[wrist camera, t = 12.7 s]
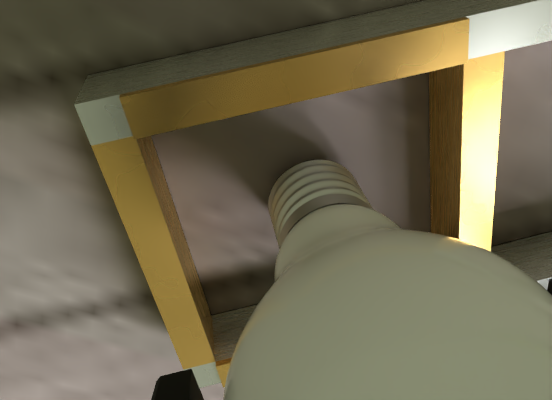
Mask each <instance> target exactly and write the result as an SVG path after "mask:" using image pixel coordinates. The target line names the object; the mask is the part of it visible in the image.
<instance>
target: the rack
mask: <svg viewBox="0 0 552 400" xmlns="http://www.w3.org/2000/svg"><path fill="white" fill-rule="evenodd" d="M551 40H552V0H425V1H420V2H416V3H411V4H407V5H402V6H398V7H393V8H389V9H384V10H380V11H375V12H371V13H366V14H362V15H357V16H353V17H348V18H344V19H339V20H335V21H330V22H326V23H321V24H317V25H312V26H308V27H303V28H299V29H294V30H290V31H285V32H281V33H276V34H272V35H267V36H263V37H258V38H254V39H249V40H245V41H240V42H236V43H231V44H227V45H222V46H218V47H213V48H209V49H204V50H200V51H195V52H191V53H186V54H182V55H177V56H173V57H168V58H164V59H159V60H155V61H150V62H146V63H141V64H137V65H133V66H128V67H124V68H119V69H115V70H110V71H106V72H101V73H97V74H92V75H88V76H87V78H86V80H85V82H84V84H83V86H82V89H81V91H80V93H79V95H78V97H77V100H76V102H75V104H74V106H75V108H76V111H77V113H78V115H79V118H80V120H81V123H82V125H83V127H84V130H85V132H86V135H87V137H88V140H89V142H90V144H91V147H92V149H93V152H94V154H95V157H96V159H97V161H98V164H99V166H100V169H101V171H102V173H103V176H104V178H105V181H106V183H107V186H108V188H109V190H110V193H111V195H112V198H113V200H114V203H115V205H116V207H117V210H118V212H119V215H120V217H121V219H122V222H123V224H124V227H125V229H126V232H127V234H128V236H129V239H130V241H131V244H132V246H133V249H134V251H135V253H136V256H137V258H138V261H139V263H140V265H141V268H142V270H143V273H144V275H145V278H146V280H147V282H148V285H149V287H150V290H151V292H152V295H153V297H154V299H155V302H156V304H157V307H158V309H159V311H160V314H161V316H162V319H163V321H164V324H165V326H166V328H167V331H168V333H169V336H170V338H171V341H172V343H173V345H174V348H175V350H176V353H177V355H178V357H179V360H180V362H181V365H182V367H183V370H188V369H192V371H193V373H194V376H195V378H196V381H197V383H198V386H199V388H202V387H206V386H210V385H214V384H218V383H222V385H223V387H225V384H226V378H227V374H228V370H229V366H230V362H231V359H232V356H233V353H234V350H235V347H236V345H237V342H238V340H239V337H240V335H241V333H242V331H243V329H244V327H245V325H246V323H247V321H248V319H249V318H250V316H251V314H252V313H253V311H254V309H255V308H256V306H257V305H258V304H257V305H253V306H249V307H245V308H241V309H237V310H233V311H229V312H225V313H221V314H217V315H213V316H211V313H210V310H209V307H208V304H207V301H206V298H205V295H204V292H203V289H202V286H201V283H200V280H199V277H198V274H197V271H196V268H195V265H194V262H193V259H192V256H191V253H190V250H189V247H188V245H187V242H186V239H185V236H184V233H183V230H182V227H181V224H180V221H179V218H178V215H177V212H176V209H175V206H174V203H173V200H172V197H171V194H170V191H169V188H168V185H167V182H166V179H165V177H164V174H163V171H162V168H161V165H160V162H159V159H158V156H157V153H156V150H155V147H154V144H153V141H152V138H151V135H156V134H160V133H164V132H169V131H173V130H178V129H182V128H186V127H191V126H195V125H199V124H204V123H208V122H212V121H217V120H221V119H226V118H230V117H234V116H239V115H243V114H247V113H252V112H256V111H260V110H265V109H269V108H273V107H278V106H282V105H287V104H291V103H295V102H300V101H304V100H308V99H313V98H317V97H321V96H326V95H330V94H335V93H339V92H343V91H348V90H352V89H356V88H361V87H365V86H369V85H374V84H378V83H383V82H387V81H391V80H396V79H400V78H404V77H409V76H413V75H417V74H422V73H426V72H429V112H430V205H431V233H436V234H441V235H446V236H450V237H453V238H457V239H460V240H463V241H466V242H469V243H472V244H474V245H477V246H479V247H482V248H484V249H486V250H488V251H490V252H493V253H495V254H496V255H498V256H500V257H502V258H504V259H506V260H507V261H509V262H511V263H512V264H514V265H515V266H517V267H518V268H520V269H521V270H523V271H524V272H526V273H527V274H528V275H530V276H531V277H532V278H533V279H535V280H536V281H537V282H538V283H540V284H541V285H542V286H543V287H544V288H545V289H546V290H547V289H548V282H549V279H552V232H549V233H545V234H541V235H537V236H533V237H529V238H525V239H521V240H516V241H512V242H508V243H504V244H500V245H496V246H492V247H491V240H492V226H493V212H494V197H495V183H496V169H497V155H498V140H499V126H500V112H501V98H502V83H503V69H504V55H505V51H507V50H512V49H516V48H520V47H525V46H529V45H533V44H538V43H542V42H546V41H551Z"/></svg>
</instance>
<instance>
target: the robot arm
mask: <svg viewBox="0 0 552 400" xmlns="http://www.w3.org/2000/svg"><path fill="white" fill-rule="evenodd" d="M547 291H548V292H549V293H551V294H552V279H549V282H548V289H547ZM151 400H204V399H203V396H202V394H201V391H200V389H199V386H198V383H197V381H196V378H195V376H194V373H193V371H192V369H188V370H184V371H180V372H176V373H172V374H168V375H164V376H160V378H159V379H158V380H157V381H156V385H155V389H154V392H153V396H152V399H151Z"/></svg>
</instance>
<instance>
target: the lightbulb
mask: <svg viewBox="0 0 552 400" xmlns="http://www.w3.org/2000/svg"><path fill="white" fill-rule="evenodd" d="M268 209H269V214H270V217H271V221H272V224H273V228H274V232H275V234H276V239H277V242H278V246H279V253H278V256H277V260H276V265H275V274H274V284H273V285H272V286H271V287H270V288H269V290H268V291H267V292H266V294H265V295H264V296H263V298H262V299H261V300H260V302H259V303H258V305H257V306H256V308H255V309H254V311H253V313H252V314H251V316H250V318H249V319H248V321H247V323H246V325H245V327H244V329H243V331H242V333H241V335H240V337H239V340H238V342H237V345H236V347H235V350H234V353H233V356H232V359H231V362H230V366H229V370H228V374H227V378H226V384H225V390H224V398H223V400H552V294H551V293H549V292H548V291H547V290H546V289H545V288H544V287H543V286H542V285H541V284H540V283H538V282H537V281H536V280H535V279H533V278H532V277H531V276H530V275H528V274H527V273H526V272H524V271H523V270H521V269H520V268H518V267H517V266H515V265H514V264H512V263H511V262H509V261H507V260H506V259H504V258H502V257H500V256H498V255H496V254H495V253H493V252H490V251H488V250H486V249H484V248H482V247H479V246H477V245H474V244H472V243H469V242H466V241H463V240H460V239H457V238H453V237H450V236H446V235H441V234H436V233H431V232H425V231H417V230H407V229H401V228H400V227H399V226H398V225H397V224H396V223H394V222H393V221H392V220H390V219H389V218H388V217H386V216H385V215H383V214H381V213H379V212H377V211H375V210H373V209H372V207H371V205H370V203H369V202H368V200H367V198H366V196H365V195H364V194H363V192H362V190H361V188H360V187H359V185H358V183H357V181H356V180H355V178H354V177H353V175H352V174H351V173H350V172H349V171H348V170H347V169H346V168H345V167H343V166H342V165H340V164H338V163H335V162H332V161H328V160H310V161H306V162H302V163H300V164H297V165H295V166H293V167H292V168H290V169H288V170H287V171H286V172H285V173H283V174H282V175H281V176H280V177H279V179H278V180H277V181H276V182H275V184H274V186H273V188H272V190H271V192H270V195H269V200H268Z"/></svg>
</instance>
